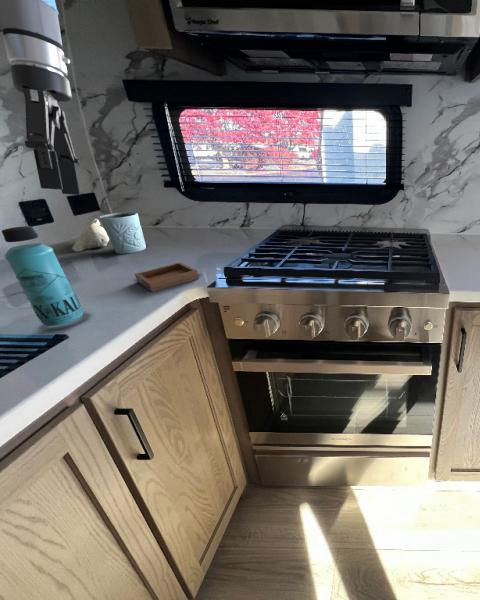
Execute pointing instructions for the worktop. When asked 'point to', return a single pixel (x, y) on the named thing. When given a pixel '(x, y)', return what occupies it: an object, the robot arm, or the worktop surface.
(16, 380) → the worktop surface
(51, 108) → the robot arm
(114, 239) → the light blue embossed planter
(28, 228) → the beverage bottle
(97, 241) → the cream animal figurine
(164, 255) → the worktop surface
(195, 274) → the brown wooden shallow tray
